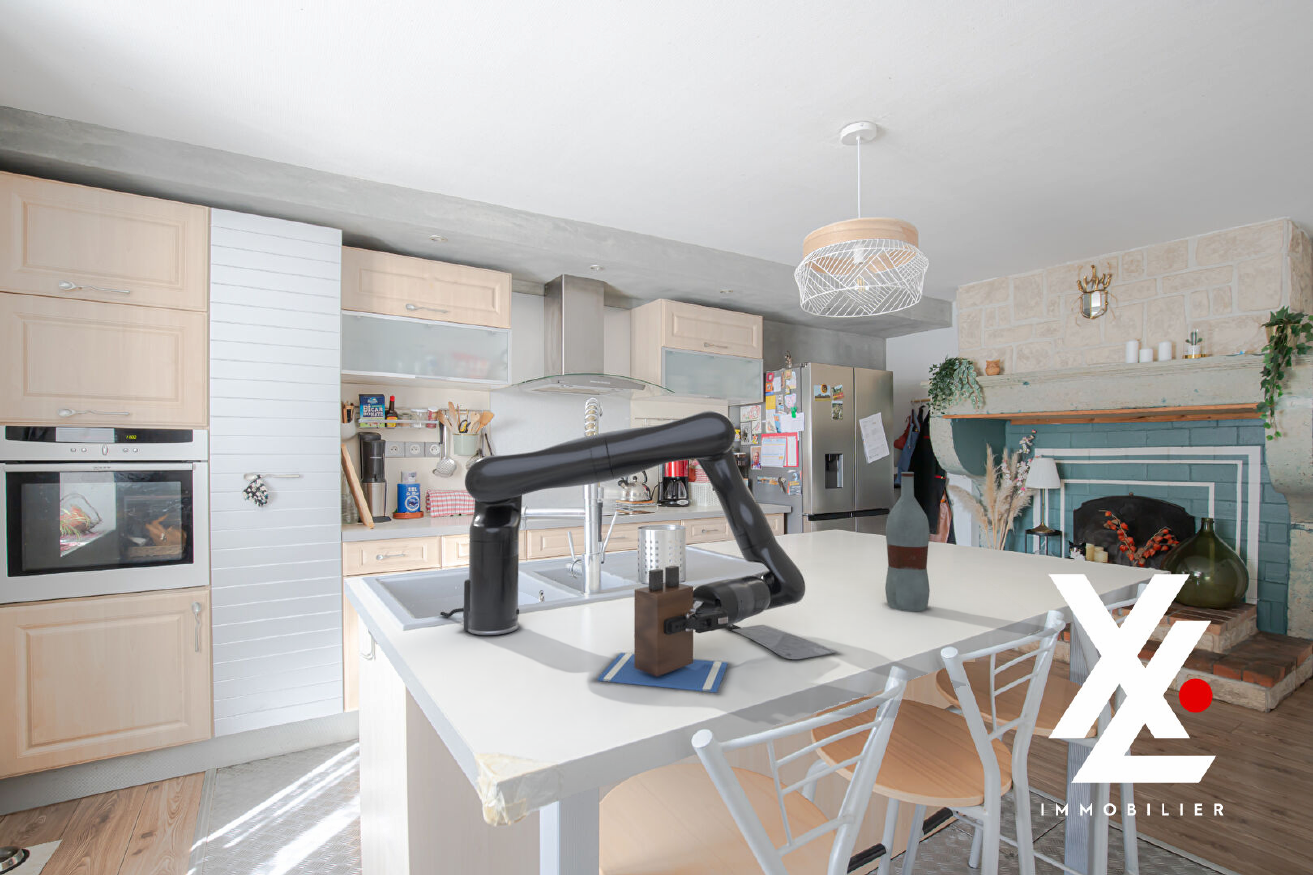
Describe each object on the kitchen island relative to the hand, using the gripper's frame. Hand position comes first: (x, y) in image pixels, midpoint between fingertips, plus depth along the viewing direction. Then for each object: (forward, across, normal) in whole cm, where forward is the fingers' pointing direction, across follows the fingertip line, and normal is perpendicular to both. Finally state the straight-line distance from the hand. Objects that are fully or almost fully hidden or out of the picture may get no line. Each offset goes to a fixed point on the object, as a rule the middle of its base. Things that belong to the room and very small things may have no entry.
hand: (652, 623), depth 95 cm
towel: (-3, 0, +8) cm, 9 cm away
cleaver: (-31, -2, +9) cm, 32 cm away
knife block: (-3, 0, +7) cm, 7 cm away
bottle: (-72, +9, +9) cm, 73 cm away
